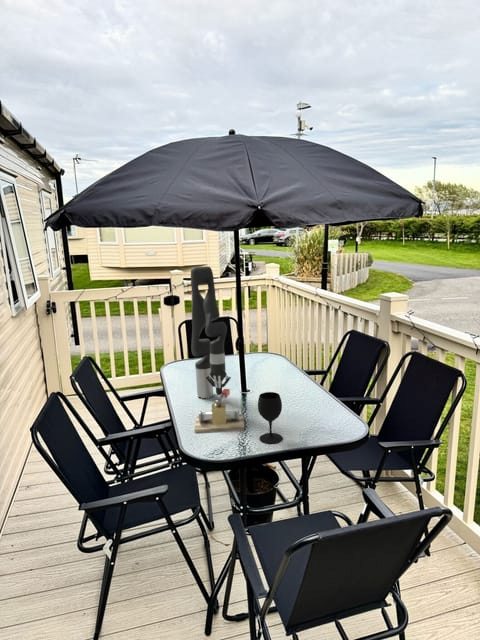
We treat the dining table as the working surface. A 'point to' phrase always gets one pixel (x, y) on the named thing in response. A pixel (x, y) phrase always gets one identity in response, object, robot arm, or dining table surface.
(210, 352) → the robot arm
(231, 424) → the mounting board
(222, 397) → the lever
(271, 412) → the wine glass
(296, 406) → the dining table surface
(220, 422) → the valve
